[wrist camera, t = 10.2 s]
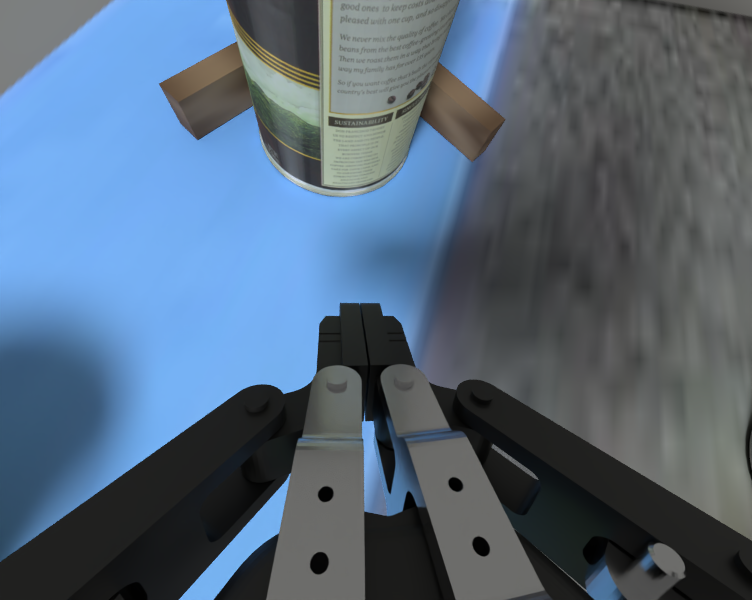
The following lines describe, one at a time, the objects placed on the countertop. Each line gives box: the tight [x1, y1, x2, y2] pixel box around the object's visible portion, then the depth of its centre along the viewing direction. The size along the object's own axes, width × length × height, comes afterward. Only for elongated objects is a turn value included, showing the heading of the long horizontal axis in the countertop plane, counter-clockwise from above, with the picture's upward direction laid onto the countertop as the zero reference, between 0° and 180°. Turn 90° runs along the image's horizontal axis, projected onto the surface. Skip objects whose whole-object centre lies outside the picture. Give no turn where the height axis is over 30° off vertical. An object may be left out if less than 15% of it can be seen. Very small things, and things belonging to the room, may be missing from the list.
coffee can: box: [226, 0, 460, 197], centre depth 15 cm, size 10×10×14 cm
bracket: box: [159, 42, 505, 162], centre depth 22 cm, size 11×21×3 cm, turn 91°
